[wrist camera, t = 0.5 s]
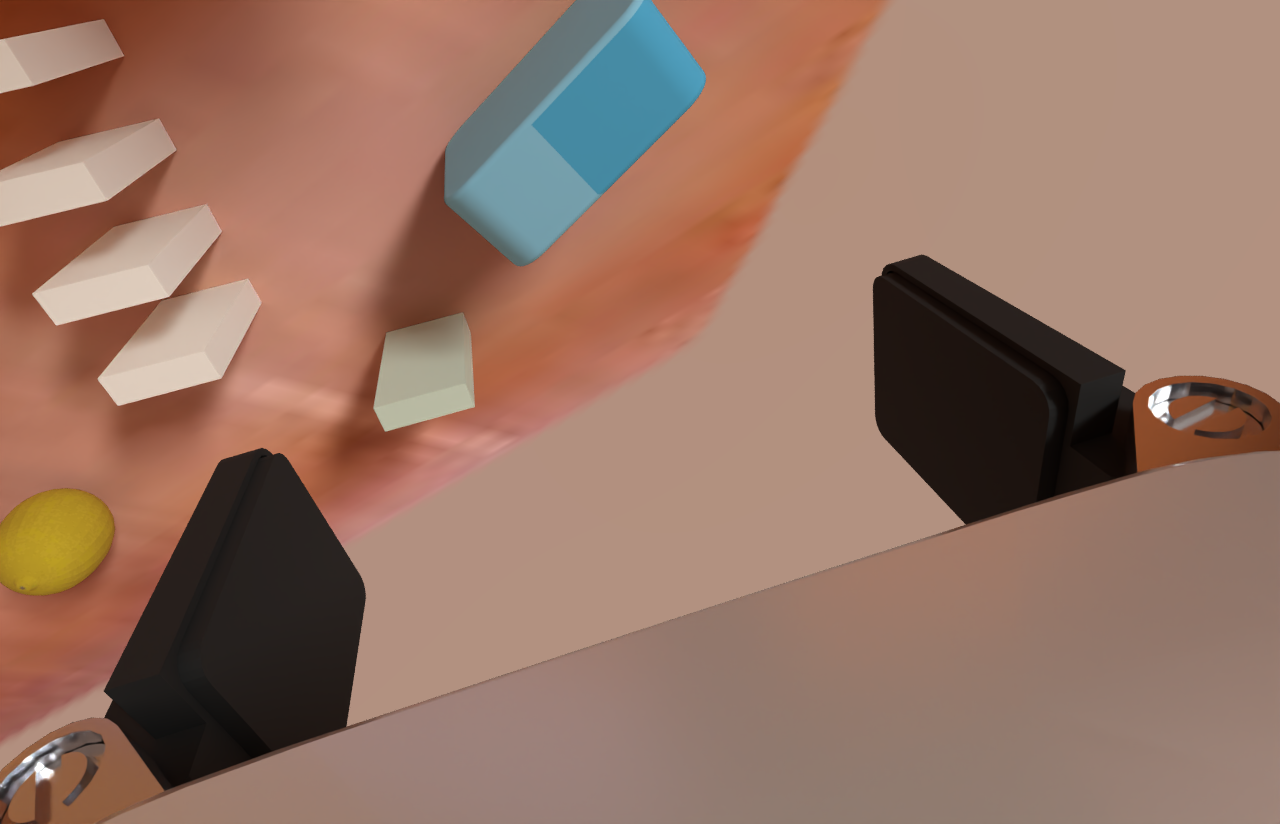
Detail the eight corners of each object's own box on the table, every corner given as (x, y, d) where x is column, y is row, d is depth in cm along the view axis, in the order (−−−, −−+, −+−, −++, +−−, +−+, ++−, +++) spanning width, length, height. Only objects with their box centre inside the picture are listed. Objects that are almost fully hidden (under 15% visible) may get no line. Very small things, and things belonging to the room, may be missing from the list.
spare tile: (386, 332, 44) (373, 408, 37) (462, 312, 45) (465, 383, 37) (395, 353, 45) (385, 431, 38) (471, 333, 45) (474, 406, 38)
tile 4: (161, 300, 40) (97, 379, 33) (248, 278, 40) (203, 351, 33) (177, 324, 41) (118, 406, 34) (261, 302, 41) (221, 378, 34)
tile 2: (58, 141, 35) (-46, 192, 28) (159, 118, 35) (82, 162, 28) (78, 173, 36) (-17, 230, 28) (176, 150, 36) (107, 200, 29)
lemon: (27, 459, 43) (-47, 548, 37) (131, 469, 45) (78, 556, 39) (36, 525, 46) (-33, 619, 40) (134, 532, 48) (84, 623, 41)
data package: (503, 201, 41) (519, 279, 32) (443, 145, 39) (440, 210, 29) (650, 48, 39) (718, 81, 29) (596, -23, 36) (649, -13, 26)
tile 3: (113, 226, 37) (31, 293, 30) (206, 203, 38) (148, 264, 31) (131, 254, 38) (56, 325, 31) (222, 231, 39) (168, 296, 31)
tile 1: (-6, 43, 32) (-140, 70, 25) (103, 18, 33) (3, 38, 25) (18, 80, 33) (-104, 117, 26) (124, 55, 34) (33, 85, 26)
